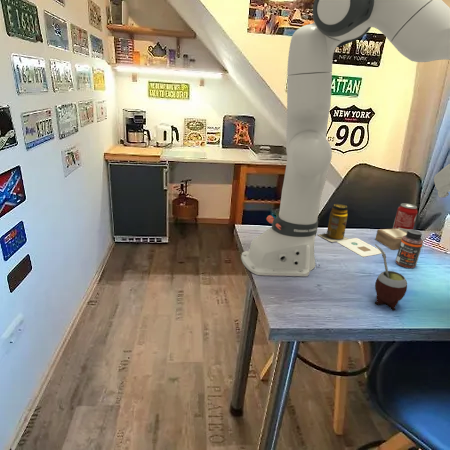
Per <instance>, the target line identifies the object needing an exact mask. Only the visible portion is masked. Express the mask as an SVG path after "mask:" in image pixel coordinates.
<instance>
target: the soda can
mask: <svg viewBox="0 0 450 450" xmlns="http://www.w3.org/2000/svg"><path fill="white" fill-rule="evenodd" d="M417 216H418V206H417V205H415V204H411V203H406V202H405V203H400V205H399V206H398V207H397V210H396V214H395V218H394V222H393V226H392V229H397V228H398V229H400V230H402V231H404V232H406V233H407V231H408V230H409V229H413V230H414V227H415V223H416V220H417Z"/></svg>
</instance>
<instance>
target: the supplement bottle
mask: <svg viewBox="0 0 450 450" xmlns="http://www.w3.org/2000/svg"><path fill="white" fill-rule="evenodd" d="M422 235H423V233H422V232H421V231H420V230H418V229H414V228H413V229H409V230H408V231H407V235H405V236H403V237H402V239H401V243H400V247H399V249H397V250H398V251H397V254H396V258H395V263H396V264H397V265H398V266H400V267H402V268H406V269H414V268H416V267H417V265H418V260H419V257H420V255H421V251H422V247H423V243H424V242H423V239H422Z"/></svg>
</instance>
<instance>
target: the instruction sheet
mask: <svg viewBox="0 0 450 450" xmlns="http://www.w3.org/2000/svg"><path fill="white" fill-rule="evenodd" d="M335 243H337V244H339V245H341V246H342V247H345V248H346V249H348V250H350V251H351V252H353V253H355V254H356V255H358V256H359V257H362V258H365V257H366V258H367V257H370V256H375V255H382V253H381V251H380V250H379V249H378V248H377V247H375V246H373V245H371V244H369V243H368V242H365V241H363V240H362V239H360V238H358V237H353V238H349V239H346V240H341V241H335ZM383 252H384V253H385V254H386V252H385V251H383Z"/></svg>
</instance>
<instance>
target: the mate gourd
mask: <svg viewBox="0 0 450 450" xmlns="http://www.w3.org/2000/svg"><path fill="white" fill-rule="evenodd" d="M375 246H376V247H375ZM374 247H375V248H377V249H379V250H380V251H381V253H382V254H381V257H382V259H383V263H384V271H383V272H381V273H380V274H378V275H377V276H378V277H376V281H375V285H374V290H375V292H376V295H375V296H376V301H375V302H374V305H376V306H384V305H385V306H386V307H388V308H389V309H390V310H391V311H393V312H394V311H396V306H397V304H399V302H400V301H401V300H403V298H404V297H405V295H406V292H407V291H408V290H407V289H408V282H407V279H406V277H405V275H403V274H401V273H399V272H397V271H393V270H389V269H388V264H387V256H386V252H385V251H384V250H383V249H382V248H381V247H379V245H377V243H375V244H374ZM384 252H385V253H384Z"/></svg>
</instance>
